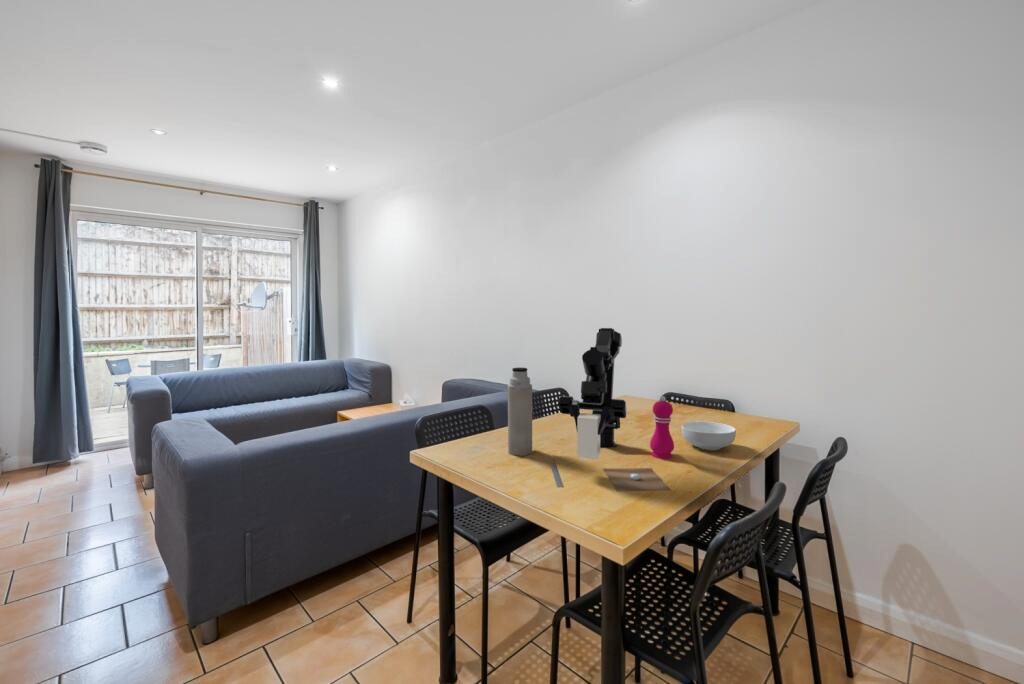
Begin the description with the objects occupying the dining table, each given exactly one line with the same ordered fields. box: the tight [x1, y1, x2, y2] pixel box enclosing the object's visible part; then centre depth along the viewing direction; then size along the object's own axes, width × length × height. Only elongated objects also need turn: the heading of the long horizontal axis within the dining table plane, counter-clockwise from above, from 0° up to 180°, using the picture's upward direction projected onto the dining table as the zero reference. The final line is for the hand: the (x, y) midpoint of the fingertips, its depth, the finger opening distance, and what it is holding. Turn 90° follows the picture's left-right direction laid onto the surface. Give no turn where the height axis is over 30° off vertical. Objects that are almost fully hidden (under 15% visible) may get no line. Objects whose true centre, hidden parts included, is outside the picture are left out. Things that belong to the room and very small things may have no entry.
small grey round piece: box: [631, 474, 640, 480], centre depth 123 cm, size 2×2×1 cm
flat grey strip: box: [550, 465, 565, 488], centre depth 128 cm, size 16×13×1 cm
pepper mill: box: [649, 395, 675, 460], centre depth 142 cm, size 7×7×20 cm
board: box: [602, 467, 672, 492], centre depth 123 cm, size 16×14×1 cm
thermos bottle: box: [507, 367, 533, 456], centre depth 149 cm, size 8×8×28 cm
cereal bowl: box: [680, 420, 737, 451], centre depth 155 cm, size 17×17×7 cm
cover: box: [576, 412, 601, 460], centre depth 125 cm, size 5×5×11 cm
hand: (588, 433), depth 124 cm, fingers closed on cover, 5 cm apart
